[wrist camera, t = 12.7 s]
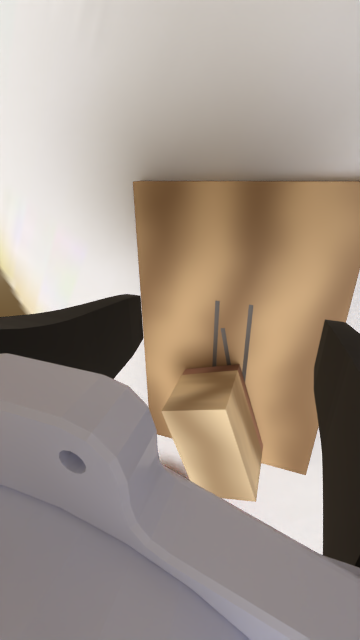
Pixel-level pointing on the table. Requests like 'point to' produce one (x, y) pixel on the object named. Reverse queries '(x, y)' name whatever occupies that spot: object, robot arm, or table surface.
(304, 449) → the oak board
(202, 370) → the block
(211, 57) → the table surface
